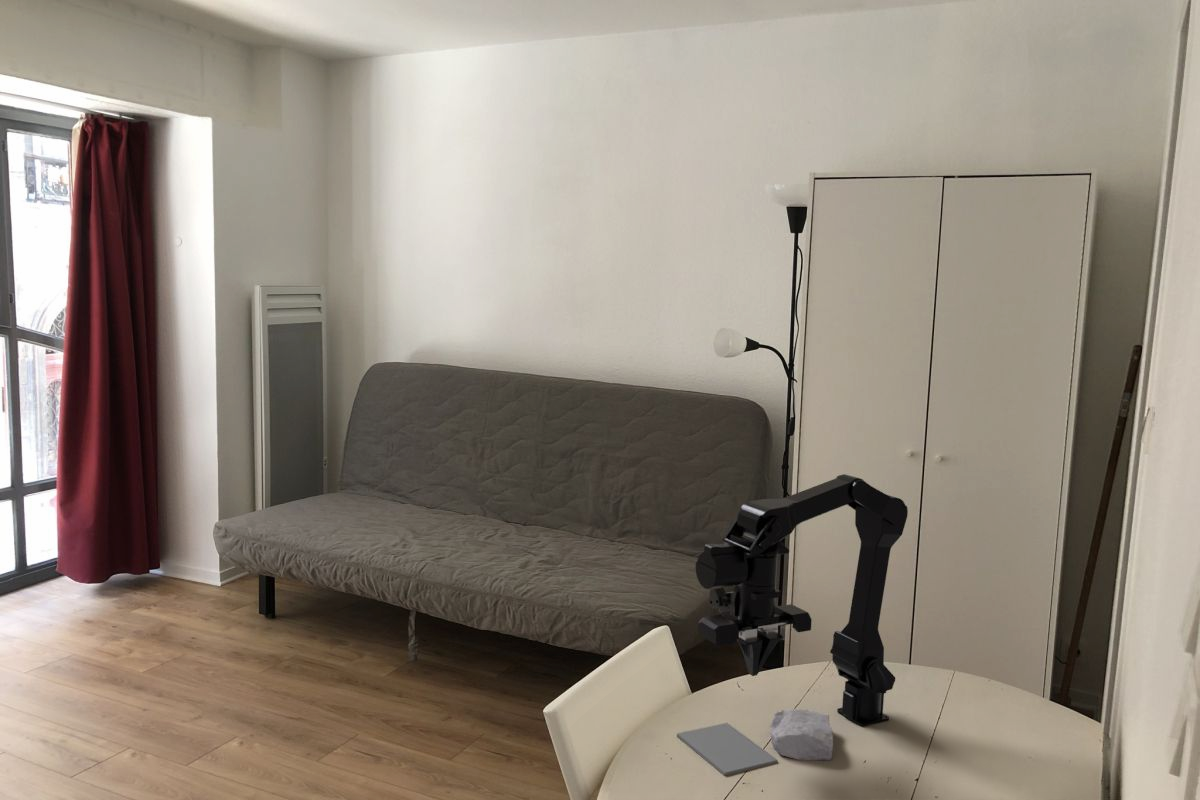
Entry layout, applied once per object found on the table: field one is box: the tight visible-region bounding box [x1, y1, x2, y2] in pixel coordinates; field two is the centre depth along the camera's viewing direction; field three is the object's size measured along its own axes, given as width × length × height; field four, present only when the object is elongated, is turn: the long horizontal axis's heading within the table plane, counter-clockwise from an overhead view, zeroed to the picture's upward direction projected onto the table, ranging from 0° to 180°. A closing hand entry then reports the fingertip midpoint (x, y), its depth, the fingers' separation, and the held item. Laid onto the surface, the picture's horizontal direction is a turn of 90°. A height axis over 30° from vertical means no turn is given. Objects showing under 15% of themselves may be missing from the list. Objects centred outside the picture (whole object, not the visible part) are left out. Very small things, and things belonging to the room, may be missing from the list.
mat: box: [676, 722, 778, 777], centre depth 153 cm, size 10×14×1 cm
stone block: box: [769, 708, 834, 762], centre depth 156 cm, size 12×5×10 cm
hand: (753, 674), depth 154 cm, fingers closed
